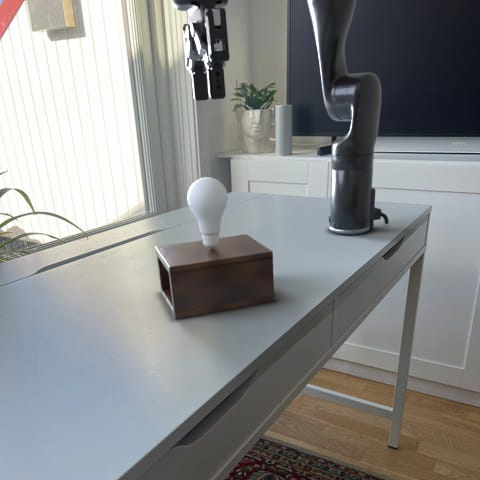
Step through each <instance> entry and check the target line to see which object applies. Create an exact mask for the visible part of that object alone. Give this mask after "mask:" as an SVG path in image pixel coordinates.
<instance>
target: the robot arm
mask: <svg viewBox="0 0 480 480" xmlns="http://www.w3.org/2000/svg"><path fill="white" fill-rule="evenodd" d="M228 3H229V0H172V6H173V8H174V9H176V10H177V11H181V12H186V13H187V15H188V16H187V23H182V26H181V30H182V38H183V39H182V40H183V45H184V46H183V50H184V60H185V68H186V70H188V71H189V73H190V74H191V82H192V83H191V85H192V94H193V99H194V101H196V102H197V101H198V102H201V101H208V99H210V100H223V99H225V98H226V95H227V93H226V81H225V68H226V64H227V62H229V61H230V47H229V35H228V24H227V12H226V9H225V7H226V6H227V5H228ZM306 3H307V7H308V11H309V16H310V20H311V24H312V29H313V34H314V40H315V45H316V49H317V50H316V51H317V56H318V57H317V58H318V63H319V72H320V80H321V88H322V96H323V102H324V107H325V109H326V112H327V115H328V116H329V118H330V119H331V120H333V121H336V122H350V127H349V130H348V132H347V133H346V134H345V135H343V136H342V137H340V138H337V139H335V140H334V141H333V142H332V143H331V159H330V160H331V162H330V163H331V164H330V205H329V206H330V207H329V216H328V223H329V231H330V232H331V233H333V234H338V235H349V236H350V235H361V234H365V233H368V232H370V231H373V230H374V221H379V220H381V219H382V218H383V220H384V225H388V224H389V223H390V221H389V217H388V215H386V214H385V213H384V212H382V208H379V207H376V205H375V204H376V191H377V190H376V188H374V187H373V176H374V159H375V158H374V157H375V154H374V153H375V146H376V143H377V140H378V134H379V127H380V126H379V125H380V117H381V107H382V96H383V95H382V93H383V92H382V85H381V84H382V83H381V82H380V78H379V77H378V75H377V74H376V73H373V72H356V73H348V69H347V64H346V63H347V62H346V55H345V53H346V51H345V50H346V49H345V48H346V40H347V36H348V33H349V30H350V27H351V23H352V21H353V17H354V13H355V10H356V9H355V8H356V5H357V0H306Z"/></svg>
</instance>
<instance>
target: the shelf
mask: <svg viewBox="0 0 480 480" xmlns="http://www.w3.org/2000/svg"><path fill="white" fill-rule="evenodd" d="M155 256H156V264H157V271H158V279H159V287H160V293H161V295H162V297H163V299H164V301H165V302H166V304H167V306H168V308H169V310H170V312H171V314H172V315H173V317H174V319H175V320H179V319H185V318H189V317H195V316H201V315H207V314H211V313H218V312H223V311H228V310H234V309H239V308H244V307H250V306H257V305H260V304H261V305H262V304H266V303H272V302H275V283H274V281H275V280H274V277H275V276H274V252H273V250H271V249H270V248H268V247H266V245H264V244H262V243H261V242H259V241H258V240H257V239H255V238H253V237H251V236H250V235H249V234H247V233H245V234H237V235H231V236H224V237H219V245H218V246H216V247H215V248H214V249H209V248H208V247H206V246H204V244H203V239H202V240H196V241H189V242H181V243H174V244H173V243H172V244H166V245H161V246H160V245H159V246H155Z"/></svg>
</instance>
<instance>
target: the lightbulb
mask: <svg viewBox="0 0 480 480" xmlns="http://www.w3.org/2000/svg"><path fill="white" fill-rule="evenodd" d="M228 195H229V194H228V191H227V189H226V187H225V186H224V184H223V183H222V182H221V181H220V180H218V179H217V178H214V177H211V176H204V177H201V178H198V179H197V180H195V181H194V182H193V183H192V184H191V185H190V187H189V189H188V191H187V197H186V198H187V204H188V207H189V209H190V210H191V213H193V215H194V217H195V219H196V221H197V222H198V226H199V232H200V234H201V237H202V240H203V244H204V246H206V247H208V248H209V249H214V248H215V247H216V246H218V245H219V238H220V232H221V224H222V223H221V222H222V218H223V215H224V212H225V211H226V208H227V205H228V200H229V196H228Z"/></svg>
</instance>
